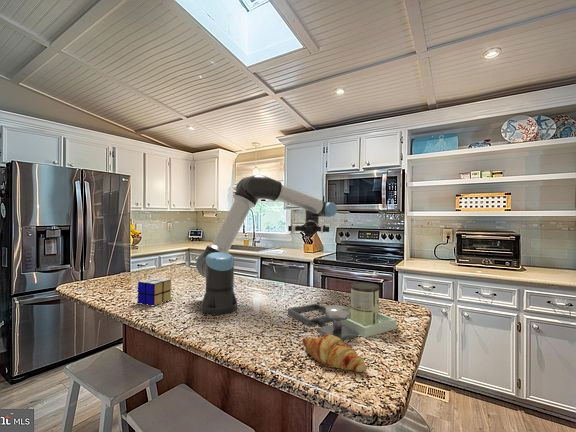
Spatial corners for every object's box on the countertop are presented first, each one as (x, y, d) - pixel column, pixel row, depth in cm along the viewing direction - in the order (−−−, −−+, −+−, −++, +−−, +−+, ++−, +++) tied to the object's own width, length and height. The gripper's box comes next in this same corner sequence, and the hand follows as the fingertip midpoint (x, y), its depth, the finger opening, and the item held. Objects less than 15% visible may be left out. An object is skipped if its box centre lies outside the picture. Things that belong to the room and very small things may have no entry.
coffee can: (348, 317, 112) (349, 281, 112) (375, 318, 111) (376, 282, 111) (351, 327, 102) (352, 288, 102) (381, 329, 101) (382, 289, 101)
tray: (364, 337, 95) (365, 327, 95) (333, 322, 109) (333, 313, 109) (396, 328, 104) (396, 319, 104) (363, 315, 117) (363, 307, 117)
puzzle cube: (137, 303, 128) (137, 281, 128) (155, 298, 137) (155, 277, 137) (153, 306, 124) (154, 283, 124) (171, 300, 134) (171, 279, 134)
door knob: (335, 342, 92) (335, 315, 92) (308, 326, 104) (308, 303, 104) (358, 336, 97) (358, 310, 97) (329, 321, 110) (330, 299, 110)
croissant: (371, 383, 75) (378, 352, 78) (354, 380, 69) (363, 345, 71) (307, 354, 90) (315, 329, 92) (289, 349, 83) (298, 321, 86)
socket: (308, 325, 105) (308, 320, 105) (287, 313, 118) (287, 308, 118) (339, 318, 113) (340, 313, 113) (316, 308, 126) (317, 303, 126)
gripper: (333, 235, 153) (334, 238, 132) (287, 234, 156) (280, 237, 135) (334, 221, 153) (334, 222, 132) (287, 220, 156) (280, 221, 135)
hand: (307, 229), depth 133 cm, fingers open, 13 cm apart
